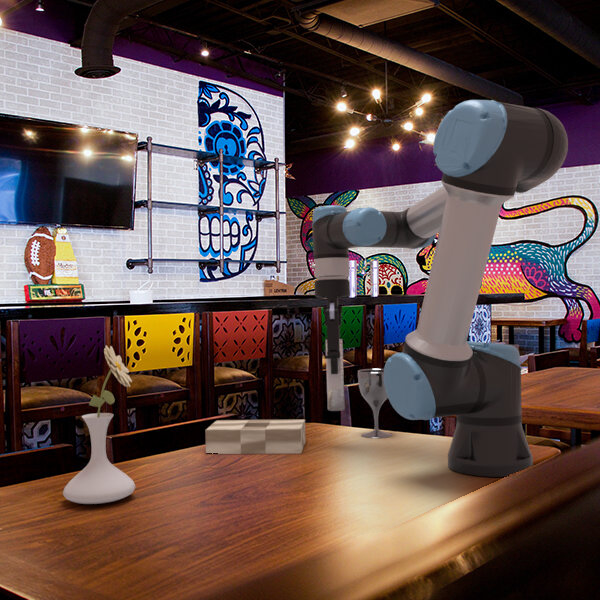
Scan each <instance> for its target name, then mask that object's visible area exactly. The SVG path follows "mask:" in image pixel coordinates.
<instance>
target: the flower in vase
mask: <svg viewBox="0 0 600 600" xmlns="http://www.w3.org/2000/svg"><path fill="white" fill-rule="evenodd" d="M103 348H104V347H103ZM103 353H104V358H105V360H106V363H107V365H108V366H109V368H110V369H109V371H108V373H107V375H106V377H105V380H104V381H103V384H102V388H101V393H100V396H99V397H98V395H95V394H92V398H91V399H90V401H89V403H88V406H92V407H95V408H98V409H97V412H96V413H87V414H83V415H81V418H82V419H83V421H84V422H85V423H86V426H87V427H88V432H89V435H90V443H91V455H90V460H89V462H88V463H87V465H86V466H85V467H84V468H82V470H81V471H80V472H78V473H77V474H76V475H75V476H74V477H73V478H72V479H71V480H70V481H68V483H67V484H66V485H65V487H64V489H63V492H62V495H63V496H64V498H65V499H66V500H67V501H70V502H72V503H76V504H83V505H93V504H94V505H97V504H99V505H100V504H106V503H111V502H116V501H119V500H121V499H124V498H126V497H128V496H130V495H132V494H133V492H134V490H135V489H136V484H135V482H134V480H133V479H132V478H131V477H130V476H128V475H127V474H126V473H125V472H124V471H122V470H121V469H119V468H117V467H116V465H114V464H112V463H111V461H110V460H109V459H108V456H107V452H106V451H107V448H106V445H107V444H106V442H107V441H106V440H107V439H106V438H107V432H108V427H109V425H110V422H111V420H112V418H113V417H114V413H111V412H101V407H102V405H104V403H105V402H106V403H107V404H108V405H113V404H114V403H115V400H116V399H115V397H114V394H113V393H112V392H111V391H109V390H105V387H106V385H107V382H108V380H109V377H110V376H111V374H112V375H114V377H115V378H116V379H117V381H118V382H119V384H120V385H123V386H124V387H126V388H128V387H130V388H131V384H130V383H133V380H132V379H131V377H130V375H129V373H130V370H129V368H127V367H126V366H125V363H123V361H122V356H121V355H116V353H115V351H114V348H113V346H112V345H110V347H108V345H105V348H104V349H103Z"/></svg>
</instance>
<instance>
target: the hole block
mask: <svg viewBox="0 0 600 600" xmlns="http://www.w3.org/2000/svg"><path fill="white" fill-rule="evenodd" d="M204 431H205V433H204V434H205V454H206V453H212V454H211V455H214V454H213V453H218V454H217V455H239V454H240V455H246V454H247V455H248V454H250V455H251V454H252V455H256V454H257V455H261V454H262V455H263V454H264V455H267V454H270V455H271V454H272V455H273V454H274V455H275V454H279V455H280V454H281V455H282V454H283V455H284V454H285V455H286V454H302V452H303V449H304V448H305V444H306V419H304V418H303V419H300V418H299V419H297V418H296V419H294V418H293V419H220V420H219V419H218V420H215V421H214V422H213V423H211V424H210V426H208V427H207V428H206V429H205V430H204Z"/></svg>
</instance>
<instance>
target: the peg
mask: <svg viewBox="0 0 600 600" xmlns="http://www.w3.org/2000/svg"><path fill="white" fill-rule="evenodd" d="M343 347H344V346H343V339H342V338H340V339H339V349H340V358H341V386H342V389H340V390H329V384H328V359H325V363H326V364H325V365H326V366H325V368H326V394H327V395H326V396H327V410H328V411H331V412H339V411H341V412H342V411H345V407H346V406H345V382H344V377H345V376H344V356H343V353H344V352H343V349H344V348H343ZM327 352H328V349H327V339H325V356H327Z"/></svg>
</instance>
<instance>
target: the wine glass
mask: <svg viewBox="0 0 600 600" xmlns="http://www.w3.org/2000/svg"><path fill="white" fill-rule="evenodd" d="M357 379H358V382H357V383H358V388H359V392H360V394H361V397H363V399H364V400H365V401H366V402H367V403H368V405H369V407H370V408H371V410H372V412H373V413H372V415H373V420H374V429H373V430H372V431H367V432H364V433H361V434H360V435H361V437H363V438H367V437H368V439H384V438H385V439H386V438H391V437H392V436H393V434H392V433H390V432H385V431H381V430H380V429H379V415H380V414H379V413H380V409H381V407H382V405H383V404H384V402H386V400H388V395H387V393H386V390H385V386H384V368H365V369H359V370H357Z"/></svg>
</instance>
